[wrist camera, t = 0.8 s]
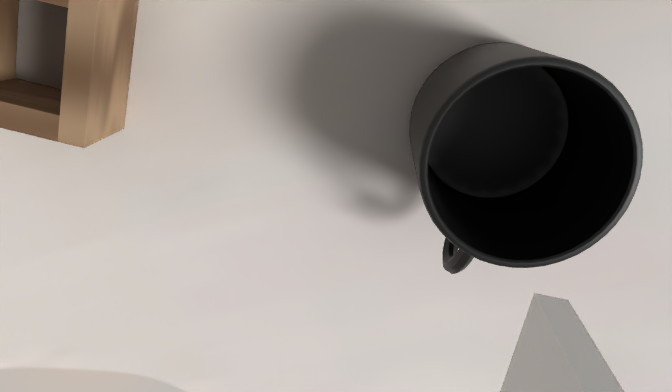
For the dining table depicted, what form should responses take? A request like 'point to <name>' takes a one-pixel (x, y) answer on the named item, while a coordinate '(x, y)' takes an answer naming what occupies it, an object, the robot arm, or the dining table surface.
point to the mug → (522, 156)
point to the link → (73, 74)
